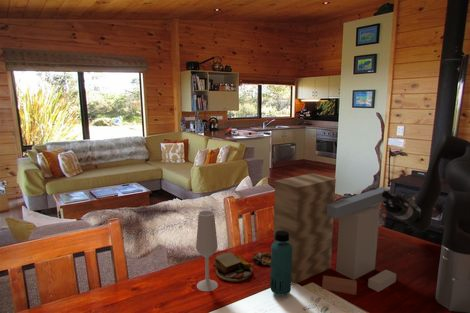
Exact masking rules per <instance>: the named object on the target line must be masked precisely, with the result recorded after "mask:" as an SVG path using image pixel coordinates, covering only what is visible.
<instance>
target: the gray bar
mask: <svg viewBox="0 0 470 313" xmlns="http://www.w3.org/2000/svg"><path fill="white" fill-rule="evenodd" d="M384 190H385V191H387V192H389V193H390V194H392V188H391V189H390V188H387V187H383V186H382V187H378V188H376V189H375V190H372V189H371V190H369V191H366V192H363V193H362V192H361V193H359V194H355V195H353V196H350V197H347V198H344V199H341V200H338V201H334V203H331V204H328V205H327V216H329V217H332V218H333V219H334V220H336V219H337V220H338V219H339V218H340V217H342V216H345V215H348V214H351V213H353V212H356V211H359V210H361V209H364V208H367V207H370V206H375V205H377V204H380V203H382V202H383V201H386V200H387V199H385V198H384V197H383V196H382V194H383V191H384Z"/></svg>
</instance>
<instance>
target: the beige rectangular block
mask: <svg viewBox="0 0 470 313" xmlns="http://www.w3.org/2000/svg"><path fill="white" fill-rule="evenodd" d="M396 282H397V273H396V272H393V271H390V270H388V269H384V270H383V271H380V272H378V273H377V274H375V275H373V276H371V277H369V278H368V282H367V287H368V288H369V289H371V290H374V291H376V292H377V293H379V292H380V291H383V290H384V289H386V288H388V287H389V286H390V285H393V284H394V283H396Z"/></svg>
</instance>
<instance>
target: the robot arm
mask: <svg viewBox="0 0 470 313" xmlns="http://www.w3.org/2000/svg"><path fill="white" fill-rule="evenodd" d="M432 153H433V154H432V155H431V159H430V162H429V164H428V167H427V170H426V174H425V177H424V179H423V181H422V184H421V186H420V188H419V190H418V192H417V194H416V196H415V198H414V204H415V205H416V206H417V207H418V208H419V210H420V211H419V210H417V209H416V207H415V206H413V205H412V204H411V203H410V201H408V200H407V199H405V198H404V197H403V196H402V195H401V194H398V193H397V194H396V193H391V194H390V193H389V192H387V191H385V190H384V191H383V194H382V196H383V197H384V198H385V199H387V200H386V201H383V202H381V203H382V205H383V207H384V210H386V212H387V213H389V214H390V215H392V216H393V217H395V218H397V219H399V220H401V221H402V222H403V223H405V224H406V225H408V226H409V227H411V228H412V229H413V230H415V231H417V232H418V233H424V232H426V231H428V229H429V228H430V226H431V225H432V224H431V223H432V218H433V212H434V207H435V205H436V203H437V202H438V200H439V197H440V195H441V193H442V184H441V183H442V182H441V177H440V164H441V161H442V160H445V161H448V163H447V164H446V166H445V169H444V176H445V180H446V183H447V185H448V186H449V188H450V189H451V191H450V192H449V193H448V194H447V195H446V197H445V198H446V199H445V206H444V208H445V209H444V224H443V234H442V239H441V246H440V248H441V249H440V256H439V257H440V258H439V263H438V272H437V280H436V282H437V283H436V290H435V297H434V298H435V300H436V302H437V303H438V304H440V305H441V306H443V307H444V308H446V309H447V310H448V311H450V312H456V313H457V312H458V313H470V233H468V232H465V231H464V230H462V229H461V228H460V227H459V226H467V227H470V141H468V140H467V139H463V138H460V137H458V136H455V135H450V134H446V133H445V134H443V135H442V136H441V137H440V138H439V139H438V141H437V143H436V144H435V147H434V151H433V152H432ZM375 189H377V188H376V187H372V188H371V190H375Z"/></svg>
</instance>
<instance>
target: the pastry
mask: <svg viewBox="0 0 470 313" xmlns="http://www.w3.org/2000/svg"><path fill="white" fill-rule="evenodd" d="M252 260H253V261H254V263H255V264H254V263H252V262H251V266H259V263H260V264H262V265H264V266H266V265H268V266H270V268H271V251H265V252H262V251H259V252H258V253H254V254H253V256H252Z"/></svg>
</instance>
